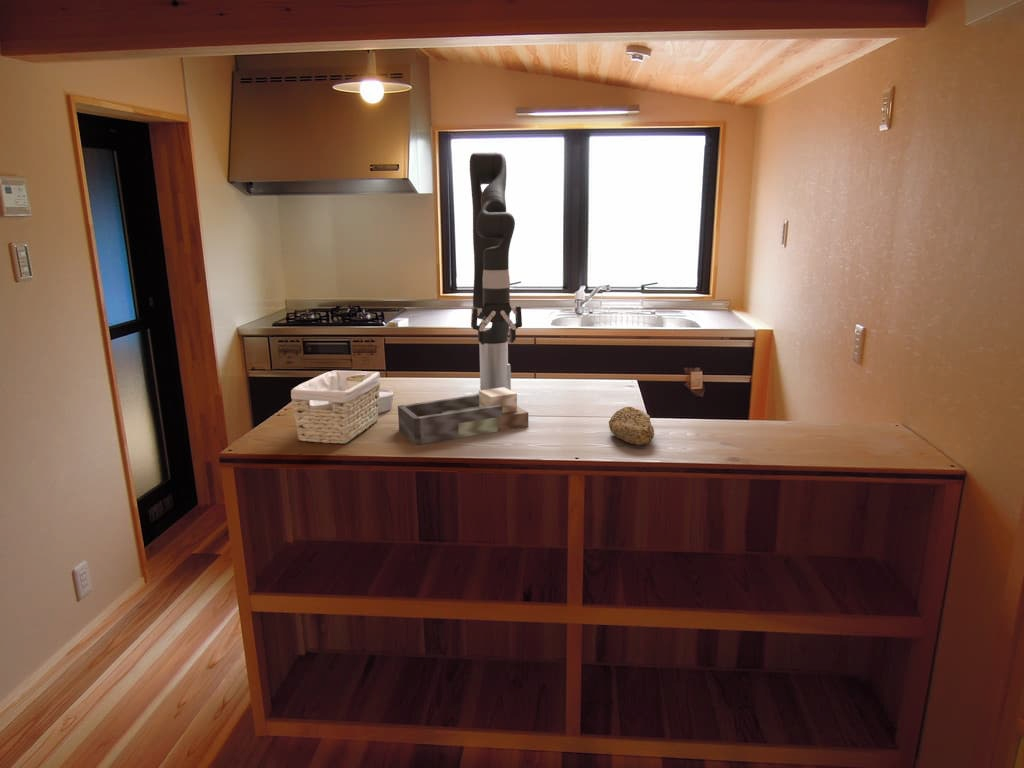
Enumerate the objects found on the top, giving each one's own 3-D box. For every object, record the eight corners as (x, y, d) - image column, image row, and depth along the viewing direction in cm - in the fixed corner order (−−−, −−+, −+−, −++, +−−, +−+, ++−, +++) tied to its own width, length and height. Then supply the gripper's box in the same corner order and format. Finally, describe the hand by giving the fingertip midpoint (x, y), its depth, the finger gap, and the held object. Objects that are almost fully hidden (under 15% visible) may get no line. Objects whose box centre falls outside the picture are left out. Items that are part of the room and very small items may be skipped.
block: (504, 403, 200) (504, 387, 199) (517, 410, 193) (516, 393, 192) (479, 407, 196) (478, 390, 195) (491, 414, 190) (490, 397, 188)
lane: (506, 413, 204) (505, 390, 203) (528, 426, 192) (528, 402, 190) (399, 430, 190) (397, 405, 188) (415, 445, 178) (414, 419, 176)
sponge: (613, 429, 193) (596, 436, 175) (620, 402, 192) (604, 406, 174) (658, 442, 189) (647, 451, 170) (666, 415, 188) (655, 421, 169)
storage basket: (333, 417, 203) (330, 368, 200) (385, 420, 200) (382, 370, 196) (292, 443, 181) (287, 389, 177) (349, 447, 177) (345, 392, 174)
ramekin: (398, 404, 215) (397, 388, 214) (388, 415, 204) (387, 398, 203) (363, 404, 216) (362, 388, 215) (352, 414, 205) (351, 397, 204)
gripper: (517, 283, 197) (517, 339, 201) (468, 285, 194) (469, 342, 198) (524, 286, 190) (524, 344, 194) (473, 288, 187) (474, 347, 191)
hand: (496, 343), depth 196 cm, fingers open, 8 cm apart
